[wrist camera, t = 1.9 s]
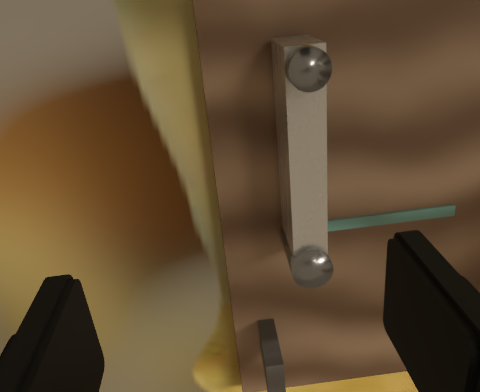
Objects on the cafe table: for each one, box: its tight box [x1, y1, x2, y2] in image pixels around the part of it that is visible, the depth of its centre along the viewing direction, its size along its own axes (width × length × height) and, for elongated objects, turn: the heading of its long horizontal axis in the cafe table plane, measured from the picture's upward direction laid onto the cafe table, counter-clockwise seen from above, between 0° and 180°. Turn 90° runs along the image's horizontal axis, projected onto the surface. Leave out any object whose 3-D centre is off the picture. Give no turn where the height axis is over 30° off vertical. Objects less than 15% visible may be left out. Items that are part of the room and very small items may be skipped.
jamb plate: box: [192, 0, 480, 392], centre depth 29 cm, size 30×20×6 cm, turn 5°
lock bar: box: [271, 34, 334, 289], centre depth 25 cm, size 14×2×5 cm, turn 5°
